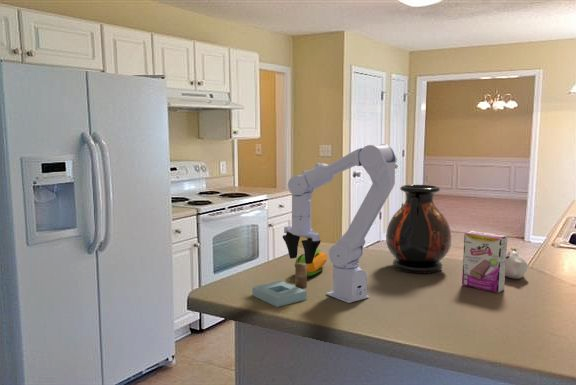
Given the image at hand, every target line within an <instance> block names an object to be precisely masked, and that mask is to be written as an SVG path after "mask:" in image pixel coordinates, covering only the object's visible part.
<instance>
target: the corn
mask: <svg viewBox="0 0 576 385" xmlns="http://www.w3.org/2000/svg"><path fill="white" fill-rule="evenodd" d="M321 251H322V250H321V249H317V250H316V252H315V255H314V259H313V263H311V264H307V278H308V277H312V276H314V275H316V274H318V273H320V272H321V271H322V270H323V269H324V267H323V266H324V265H326V263H327V260H329V259H328V258H329V257H328V255H327V253H326V252H321ZM296 263H305V253H303V254H300V255H299V256H297V258H295V263H294V267H295V264H296Z"/></svg>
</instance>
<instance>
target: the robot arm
mask: <svg viewBox="0 0 576 385" xmlns="http://www.w3.org/2000/svg"><path fill="white" fill-rule="evenodd" d="M397 161H398V159H397V155H396V154H395V151H394V149H393V148H392V147H391V146H390V145H388V144H384V143H382V144H378V145H377V144H376V145H375V144H367V145H365V146H364V147H360V148H357V149H355V150H353V151H351V152H349V153H348V154H346V155H344V156H342V157H341V158H338V159H337V160H335V161H334V162H331V163H330V164H327V163H324V162H323V163H321V162H317V163H315V164H314V167H313V168H311V169H309V170H303V171H302V174H300V175H299V174H294V175H292V176H291V177H290V178H289V179H288V182H287V189H288V191H289V192H290V193H291V226H290V225H289V226H284V227H283V233H284V235H282V239H283V241H284V242H285V244H286V245H285V246H286V247H287V251H288V256H289V259H297V258H298V249H299V243H300V238H304V239H303V240H302V239H301V245H302V246H303V250H304V251H303V252H304V254H305V263H306V264H311V263H313V259H314V255H315V252H316V250H318V248H319V246H320V244H321V240H320V233H318V232H315V231H314V229H313V228H312V197H313V196H312V194H313V192H314V191H315V190H316V189H318V188H321V187H322V186H324V185H327V184H328V183H331V182H332V181H333V179H334V177H335V175H338V174H340V173H342V172H344V171H347V170H349V169H352V168H353V167H354V168H355V167H362V168H363V169H364V171H365V172H366V173H367V174H368V175H369V177H370V181H371V182H372V184H371V186H370V188H369V190H368V192H367V193H366V195H365V197H364V199H363V201H362V203H361V204H360V207H359V208H358V210H357V212H356V213H355V216H354V217H353V219H352V221H351V222H350V224H349V226H348V228H347V229H346V230H347V231H346V232H345V233H344V234H343V235H342V236H341V237H339V239H338V241H337V242H336V243H335V244H334V245H332V246H331V247H330V249H329V251H328V258H329V261H330V262H331V264H332V290H331V291H328V292H326V293H325V295H327V296H330V297H332V298H334V299H338V300H339V301H343V302H345V303H349V304H350V303H351V304H352V303H354V302H358V301H362V300H365V299H368V298H369V297H370V296H369V295H368V274H367V272H366V271H365V270H364V269H362V268H361V266H360V259H361V258H362V256H363V254H364V246H365V244H366V239H365V238H366V236H367V234H368V233H369V231H370V230H371V227H372V226H373V224H374V223H375V220H376V218H377V217H378V215H379V214H380V211H381V210H382V208H383V207H384V205H385V203H386V201H387V199H388V198H389V196H390V194H391V193H392V191H393V189H394V187H395V182H396V181H395V180H396V164H397Z"/></svg>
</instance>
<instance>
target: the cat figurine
mask: <svg viewBox="0 0 576 385" xmlns="http://www.w3.org/2000/svg"><path fill="white" fill-rule="evenodd" d="M510 250H511V251H508V252H506V267H505V277H506V278H509V279H514V280H516V279H518V280H519V279H521V278H523V277H524V276H525V275H526V273H527V272H528V270H529V264H528V262H527V261H526V259H525V258H524V257H523V256H522V255H520V254H519V249H518V248H516V247H511V248H510Z"/></svg>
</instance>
